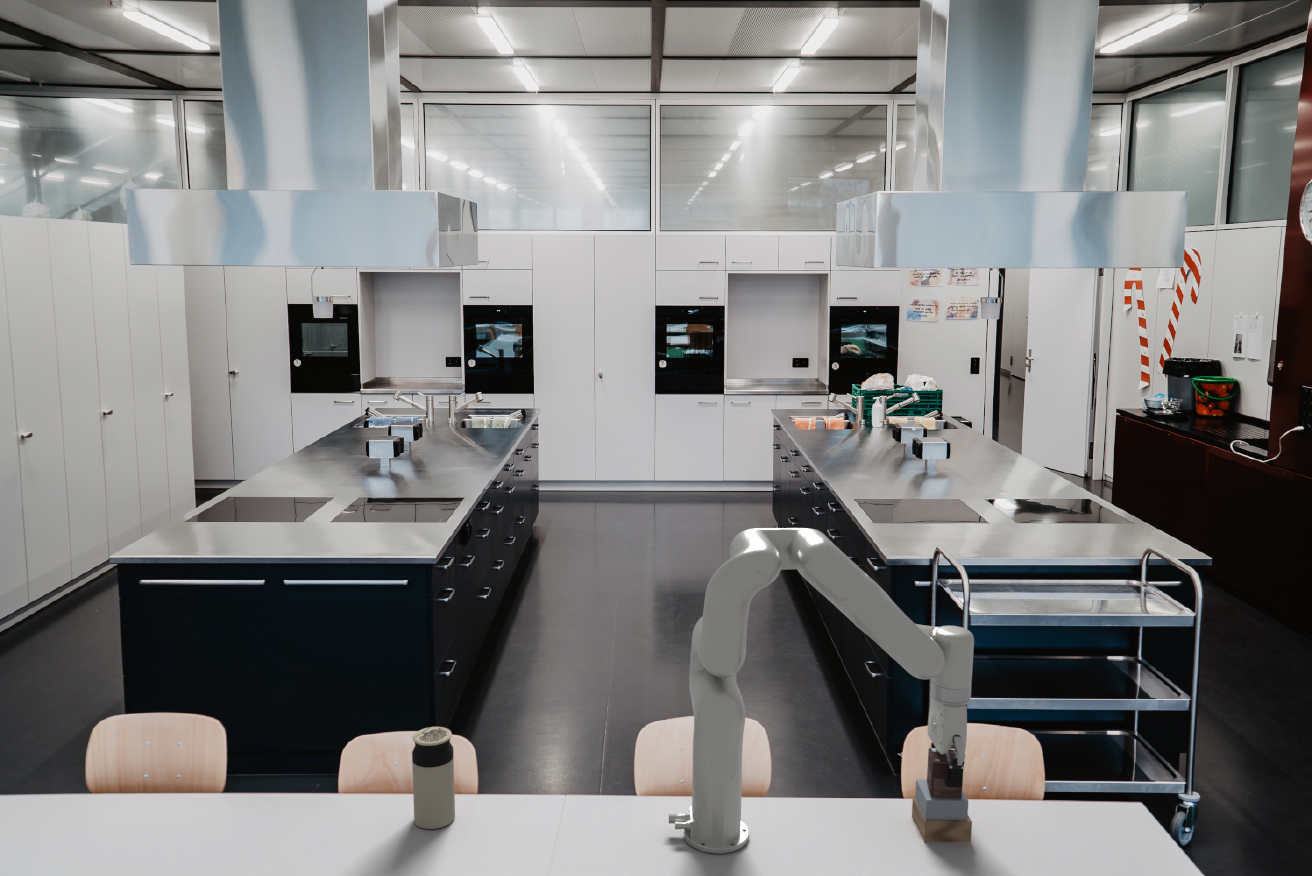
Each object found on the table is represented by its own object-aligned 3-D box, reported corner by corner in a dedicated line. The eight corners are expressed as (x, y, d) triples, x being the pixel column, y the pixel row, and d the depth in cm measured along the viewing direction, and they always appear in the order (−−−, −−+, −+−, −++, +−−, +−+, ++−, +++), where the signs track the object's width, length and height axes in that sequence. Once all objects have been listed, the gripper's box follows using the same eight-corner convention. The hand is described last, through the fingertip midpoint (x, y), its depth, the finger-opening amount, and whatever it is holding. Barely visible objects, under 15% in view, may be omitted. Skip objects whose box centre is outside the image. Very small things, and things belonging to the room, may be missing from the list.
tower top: (925, 819, 183) (926, 800, 183) (915, 797, 191) (916, 779, 191) (967, 820, 183) (968, 800, 183) (955, 798, 191) (956, 779, 191)
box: (961, 800, 183) (964, 764, 182) (929, 797, 184) (932, 761, 183) (957, 784, 189) (959, 749, 188) (926, 781, 190) (928, 746, 189)
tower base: (924, 842, 184) (925, 821, 183) (911, 817, 192) (912, 796, 192) (970, 842, 184) (971, 821, 183) (956, 817, 192) (957, 796, 192)
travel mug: (463, 816, 191) (461, 732, 189) (434, 834, 185) (432, 747, 182) (435, 804, 195) (432, 722, 193) (405, 822, 189) (402, 737, 186)
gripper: (919, 672, 192) (915, 752, 195) (944, 709, 175) (939, 796, 177) (956, 673, 192) (951, 752, 195) (985, 710, 175) (979, 796, 177)
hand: (945, 773), depth 186 cm, fingers open, 9 cm apart
